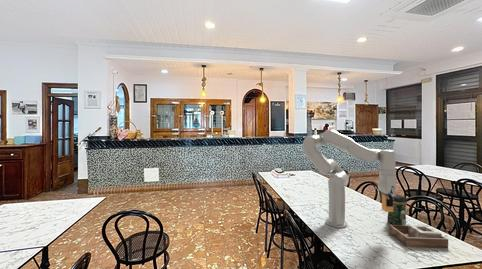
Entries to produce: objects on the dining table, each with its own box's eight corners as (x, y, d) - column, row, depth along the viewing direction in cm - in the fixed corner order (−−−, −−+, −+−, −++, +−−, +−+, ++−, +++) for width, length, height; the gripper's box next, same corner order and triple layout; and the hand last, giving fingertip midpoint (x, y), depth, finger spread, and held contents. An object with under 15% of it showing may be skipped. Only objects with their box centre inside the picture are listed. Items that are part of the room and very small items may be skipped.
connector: (381, 209, 131) (381, 191, 131) (389, 209, 130) (389, 191, 130) (385, 211, 126) (385, 193, 126) (393, 212, 126) (393, 193, 126)
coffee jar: (384, 221, 149) (385, 192, 149) (394, 220, 152) (395, 191, 151) (398, 227, 140) (399, 197, 139) (408, 226, 142) (409, 196, 142)
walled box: (388, 232, 134) (388, 222, 133) (424, 233, 132) (425, 223, 132) (406, 246, 118) (407, 235, 117) (448, 248, 116) (448, 236, 116)
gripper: (372, 169, 137) (372, 200, 137) (388, 175, 120) (388, 210, 120) (386, 169, 136) (386, 200, 136) (403, 175, 119) (403, 210, 120)
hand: (387, 204), depth 128 cm, fingers closed on connector, 4 cm apart
